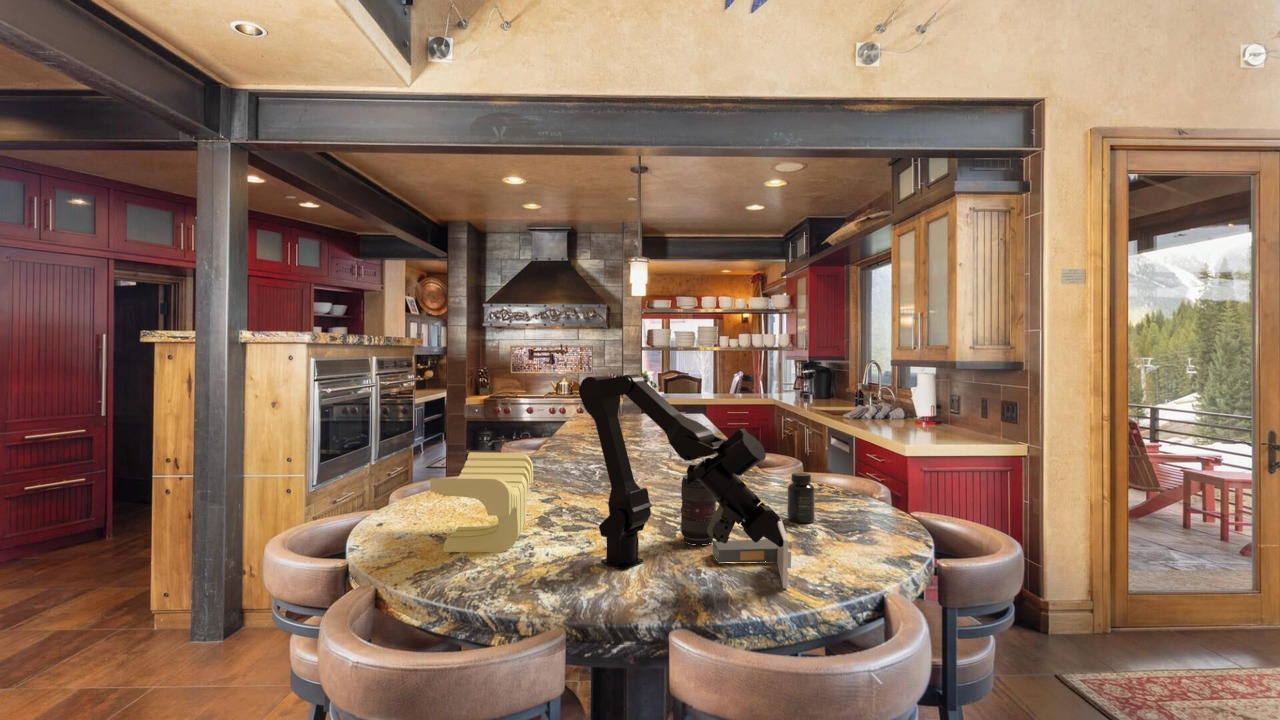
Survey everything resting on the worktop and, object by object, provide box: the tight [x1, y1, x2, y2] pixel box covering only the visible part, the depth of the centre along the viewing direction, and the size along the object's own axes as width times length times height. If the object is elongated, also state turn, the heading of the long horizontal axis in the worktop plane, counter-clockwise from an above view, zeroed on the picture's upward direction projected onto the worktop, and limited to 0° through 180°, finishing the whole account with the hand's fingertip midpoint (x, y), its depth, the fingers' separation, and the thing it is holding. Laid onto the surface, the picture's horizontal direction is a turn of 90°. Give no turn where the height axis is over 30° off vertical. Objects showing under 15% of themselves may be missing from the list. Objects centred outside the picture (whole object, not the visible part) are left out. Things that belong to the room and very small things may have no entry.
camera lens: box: [680, 474, 717, 545], centre depth 144 cm, size 8×8×15 cm
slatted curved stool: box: [429, 451, 534, 553], centre depth 142 cm, size 30×16×18 cm, turn 1°
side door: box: [776, 518, 792, 589], centre depth 123 cm, size 14×1×9 cm, turn 172°
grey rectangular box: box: [712, 539, 777, 563], centre depth 133 cm, size 15×6×3 cm, turn 95°
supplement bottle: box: [787, 472, 816, 524], centre depth 162 cm, size 7×7×12 cm
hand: (781, 544), depth 118 cm, fingers closed
